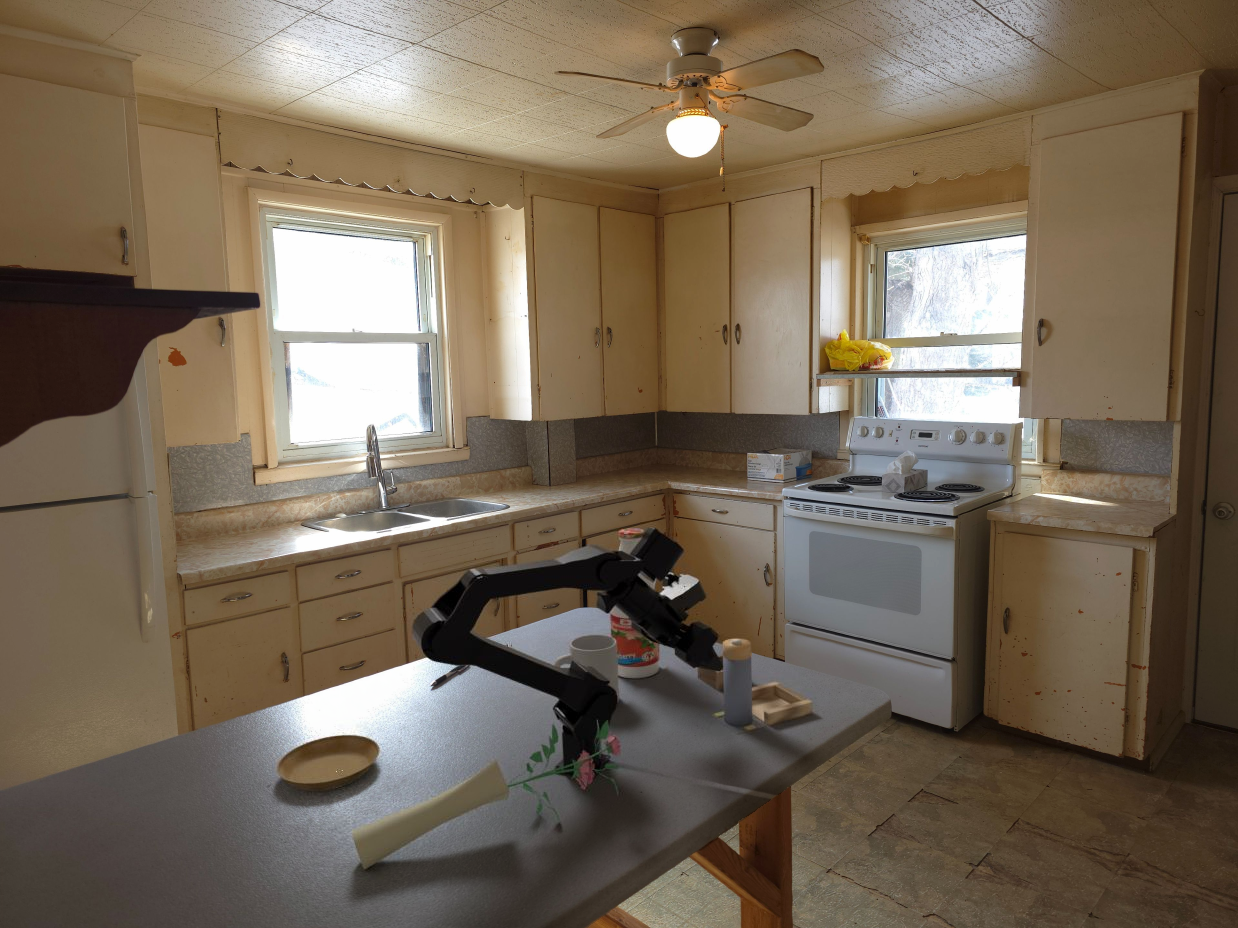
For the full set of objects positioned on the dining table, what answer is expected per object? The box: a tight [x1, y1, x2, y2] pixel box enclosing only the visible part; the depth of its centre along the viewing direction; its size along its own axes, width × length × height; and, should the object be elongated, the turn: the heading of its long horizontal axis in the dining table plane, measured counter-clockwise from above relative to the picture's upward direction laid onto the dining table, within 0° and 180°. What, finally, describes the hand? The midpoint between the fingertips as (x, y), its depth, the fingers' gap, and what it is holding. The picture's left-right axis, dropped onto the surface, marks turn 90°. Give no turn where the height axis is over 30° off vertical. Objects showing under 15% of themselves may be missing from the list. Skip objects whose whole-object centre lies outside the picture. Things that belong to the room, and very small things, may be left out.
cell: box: [722, 638, 753, 726], centre depth 132 cm, size 5×5×14 cm
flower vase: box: [351, 720, 622, 870], centre depth 104 cm, size 12×12×35 cm
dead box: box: [697, 654, 724, 692], centre depth 149 cm, size 7×7×4 cm
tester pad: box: [710, 710, 768, 735], centre depth 133 cm, size 6×8×1 cm
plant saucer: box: [276, 734, 381, 792], centre depth 122 cm, size 15×15×3 cm
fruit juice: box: [609, 527, 661, 679], centre depth 156 cm, size 9×9×28 cm
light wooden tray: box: [752, 681, 813, 727], centre depth 137 cm, size 9×10×3 cm
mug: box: [553, 634, 620, 703], centre depth 142 cm, size 12×8×11 cm
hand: (705, 659), depth 129 cm, fingers open, 9 cm apart
